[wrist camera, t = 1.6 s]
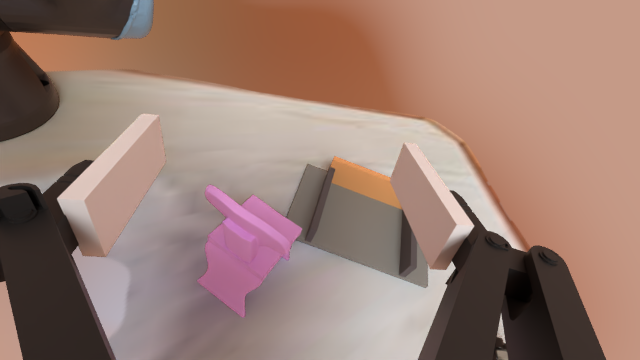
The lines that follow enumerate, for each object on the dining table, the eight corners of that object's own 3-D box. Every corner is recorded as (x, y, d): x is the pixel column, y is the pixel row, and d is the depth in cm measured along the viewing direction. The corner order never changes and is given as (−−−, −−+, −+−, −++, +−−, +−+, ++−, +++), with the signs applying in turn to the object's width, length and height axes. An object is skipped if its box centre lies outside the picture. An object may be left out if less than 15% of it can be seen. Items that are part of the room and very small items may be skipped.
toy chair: (298, 260, 36) (337, 183, 25) (251, 324, 30) (274, 260, 19) (244, 221, 37) (259, 132, 26) (189, 275, 31) (178, 189, 20)
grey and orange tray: (280, 233, 37) (287, 211, 33) (307, 166, 46) (315, 142, 42) (425, 287, 38) (448, 271, 34) (424, 211, 47) (442, 192, 43)
